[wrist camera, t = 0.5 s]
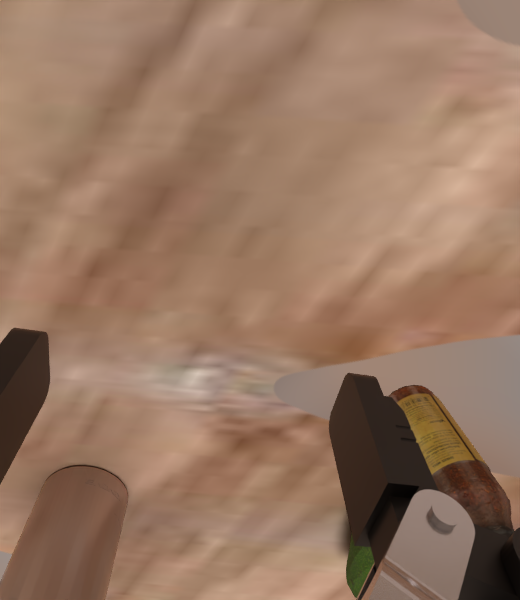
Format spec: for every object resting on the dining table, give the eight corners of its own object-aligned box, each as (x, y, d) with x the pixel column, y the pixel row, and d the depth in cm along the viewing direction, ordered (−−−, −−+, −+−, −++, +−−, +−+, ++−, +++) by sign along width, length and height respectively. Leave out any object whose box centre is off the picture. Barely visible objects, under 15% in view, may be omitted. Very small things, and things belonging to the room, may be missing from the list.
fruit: (378, 562, 59) (406, 648, 50) (313, 544, 56) (331, 632, 47) (448, 485, 53) (493, 567, 44) (379, 462, 51) (413, 544, 42)
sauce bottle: (368, 418, 48) (454, 620, 30) (399, 373, 45) (513, 563, 27) (418, 435, 49) (528, 635, 31) (450, 392, 47) (590, 583, 29)
